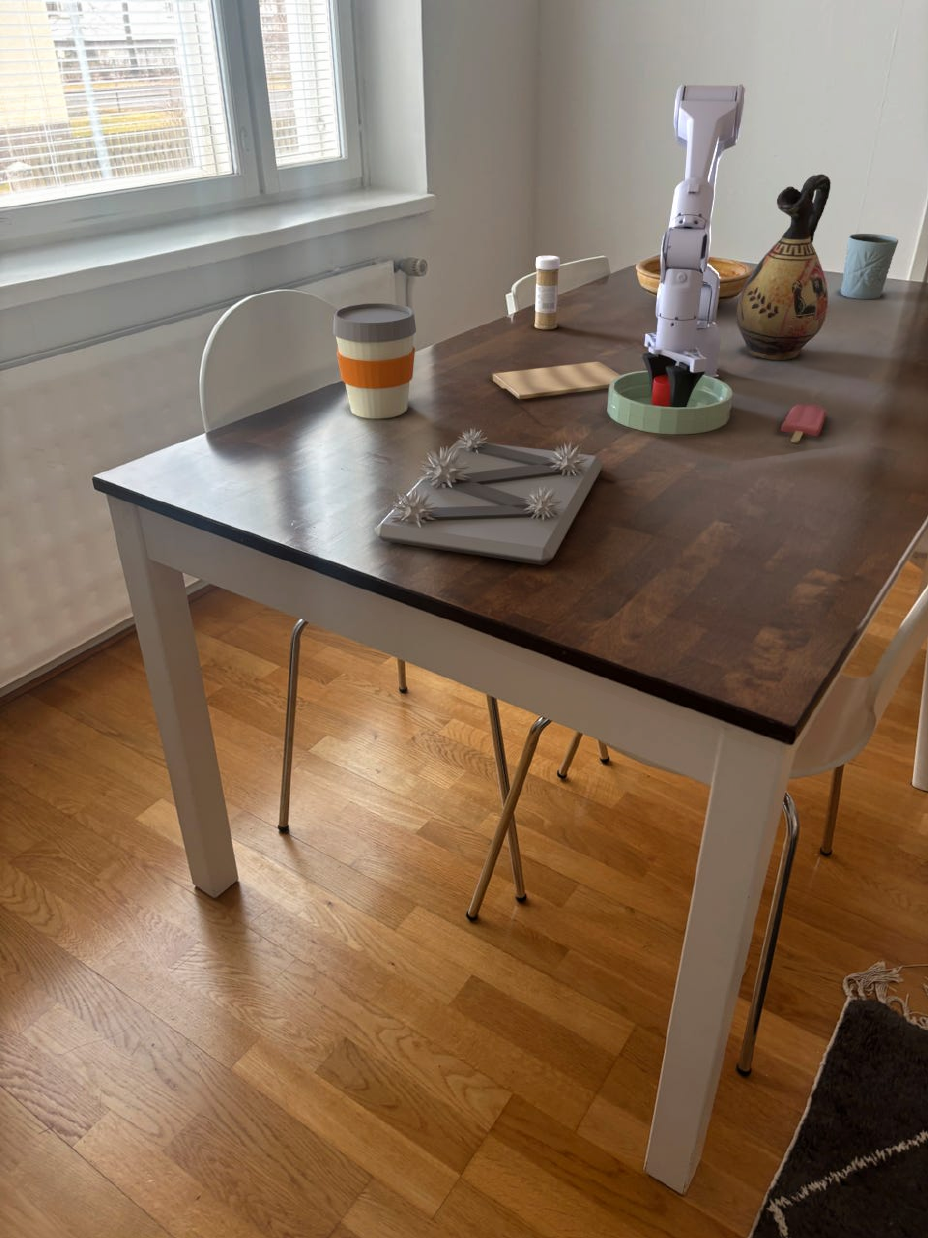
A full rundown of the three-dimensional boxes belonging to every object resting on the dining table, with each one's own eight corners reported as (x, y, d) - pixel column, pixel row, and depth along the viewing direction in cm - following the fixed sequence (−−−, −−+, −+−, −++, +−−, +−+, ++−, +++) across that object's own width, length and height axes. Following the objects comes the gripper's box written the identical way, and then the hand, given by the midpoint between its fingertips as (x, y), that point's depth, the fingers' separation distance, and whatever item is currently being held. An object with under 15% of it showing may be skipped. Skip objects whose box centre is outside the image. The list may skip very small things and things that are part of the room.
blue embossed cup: (834, 288, 218) (844, 232, 212) (880, 289, 217) (892, 233, 211) (842, 299, 210) (854, 241, 203) (890, 300, 208) (903, 242, 202)
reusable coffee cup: (365, 391, 159) (359, 298, 151) (432, 402, 154) (430, 307, 146) (323, 415, 149) (315, 317, 141) (393, 427, 144) (389, 327, 136)
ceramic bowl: (657, 285, 222) (661, 249, 218) (762, 296, 212) (768, 258, 208) (611, 314, 200) (614, 274, 196) (726, 328, 190) (732, 287, 186)
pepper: (673, 405, 150) (678, 364, 147) (691, 416, 146) (696, 373, 142) (644, 409, 149) (648, 367, 145) (661, 420, 145) (665, 377, 141)
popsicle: (776, 433, 137) (793, 401, 148) (774, 444, 138) (791, 411, 149) (815, 439, 135) (829, 406, 146) (813, 449, 136) (827, 416, 147)
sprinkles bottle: (557, 324, 193) (561, 254, 186) (555, 330, 190) (558, 259, 182) (535, 323, 194) (537, 254, 187) (532, 329, 190) (534, 259, 183)
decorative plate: (549, 573, 106) (552, 515, 102) (371, 545, 112) (367, 489, 108) (604, 470, 130) (608, 420, 126) (454, 452, 136) (454, 404, 132)
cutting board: (598, 367, 169) (598, 361, 168) (630, 388, 159) (630, 381, 159) (492, 380, 163) (492, 373, 163) (519, 402, 154) (519, 395, 153)
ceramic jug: (787, 371, 166) (820, 184, 151) (714, 352, 176) (738, 175, 160) (839, 352, 176) (875, 174, 160) (767, 335, 186) (794, 166, 170)
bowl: (688, 391, 158) (691, 364, 155) (752, 429, 143) (756, 400, 140) (587, 404, 152) (589, 377, 150) (642, 445, 138) (645, 415, 135)
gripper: (630, 306, 144) (623, 393, 151) (679, 330, 133) (669, 424, 140) (671, 302, 146) (662, 388, 153) (723, 325, 135) (710, 418, 142)
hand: (668, 405), depth 147 cm, fingers closed on pepper, 5 cm apart
